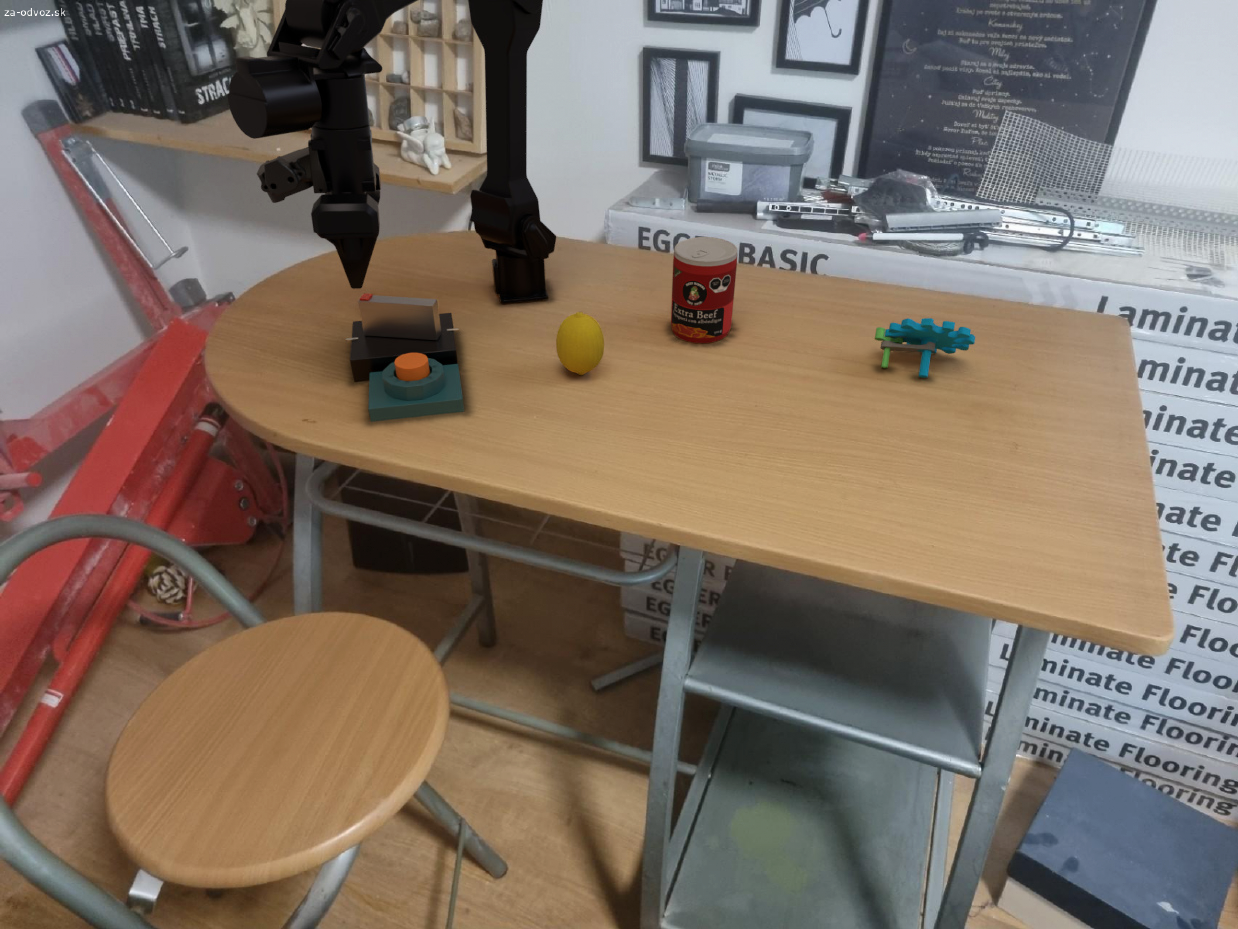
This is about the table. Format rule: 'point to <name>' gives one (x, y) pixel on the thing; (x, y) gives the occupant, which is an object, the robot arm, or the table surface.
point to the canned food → (703, 289)
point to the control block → (415, 393)
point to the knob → (399, 317)
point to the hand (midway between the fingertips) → (357, 273)
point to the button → (412, 367)
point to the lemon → (580, 343)
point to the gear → (923, 340)
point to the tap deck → (398, 349)
